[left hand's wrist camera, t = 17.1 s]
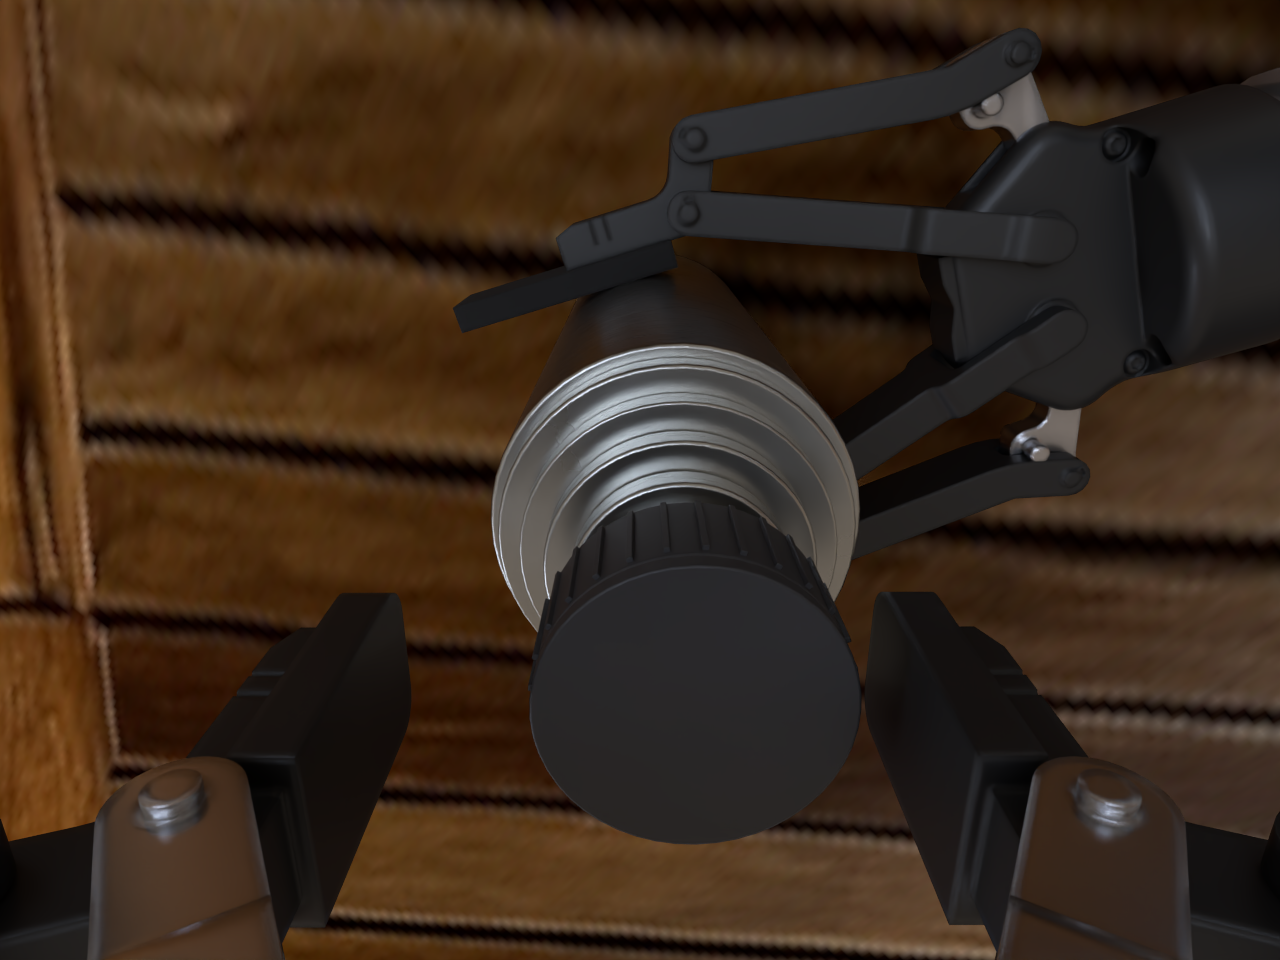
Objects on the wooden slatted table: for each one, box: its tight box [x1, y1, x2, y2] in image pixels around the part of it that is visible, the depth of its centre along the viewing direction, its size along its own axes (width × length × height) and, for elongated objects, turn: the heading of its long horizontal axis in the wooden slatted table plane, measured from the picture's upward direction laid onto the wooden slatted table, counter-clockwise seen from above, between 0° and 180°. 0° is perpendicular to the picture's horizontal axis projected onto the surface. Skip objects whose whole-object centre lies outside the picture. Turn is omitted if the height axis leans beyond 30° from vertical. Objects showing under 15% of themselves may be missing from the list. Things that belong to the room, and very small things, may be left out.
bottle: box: [491, 255, 860, 632], centre depth 21 cm, size 7×7×22 cm
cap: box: [528, 500, 861, 844], centre depth 11 cm, size 4×4×2 cm
